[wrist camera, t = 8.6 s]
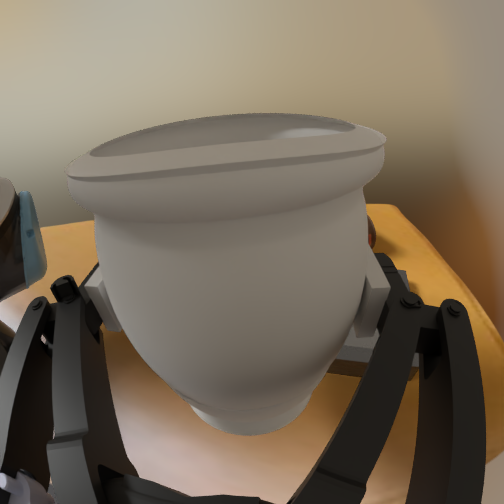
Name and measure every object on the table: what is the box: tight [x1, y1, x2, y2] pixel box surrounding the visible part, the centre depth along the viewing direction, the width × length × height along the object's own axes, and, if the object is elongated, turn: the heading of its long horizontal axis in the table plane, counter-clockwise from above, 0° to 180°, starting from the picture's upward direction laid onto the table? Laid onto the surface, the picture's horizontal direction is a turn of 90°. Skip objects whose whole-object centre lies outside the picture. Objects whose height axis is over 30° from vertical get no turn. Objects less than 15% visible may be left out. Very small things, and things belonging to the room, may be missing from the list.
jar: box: [64, 113, 387, 436], centre depth 12 cm, size 11×10×15 cm
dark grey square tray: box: [327, 270, 419, 381], centre depth 34 cm, size 18×18×3 cm
